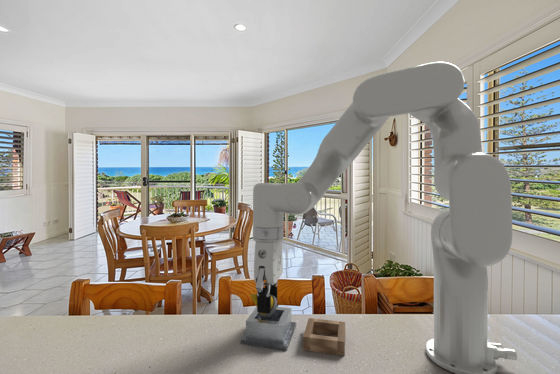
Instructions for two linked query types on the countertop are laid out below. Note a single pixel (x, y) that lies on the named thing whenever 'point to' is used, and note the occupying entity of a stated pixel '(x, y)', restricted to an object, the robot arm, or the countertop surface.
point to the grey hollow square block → (269, 329)
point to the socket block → (324, 342)
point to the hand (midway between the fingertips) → (267, 306)
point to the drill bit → (273, 304)
